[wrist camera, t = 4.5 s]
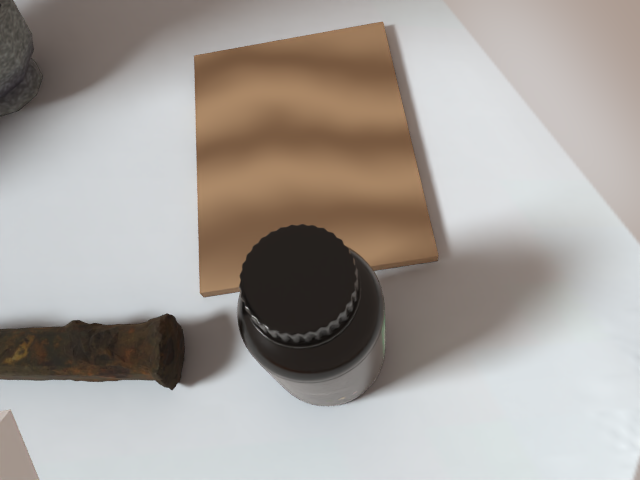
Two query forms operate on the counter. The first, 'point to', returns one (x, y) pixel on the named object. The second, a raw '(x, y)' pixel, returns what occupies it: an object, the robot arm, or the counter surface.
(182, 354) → the hand tool
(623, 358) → the counter surface
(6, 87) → the mortar and pestle
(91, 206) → the counter surface
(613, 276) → the counter surface
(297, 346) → the supplement bottle
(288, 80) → the cutting board
